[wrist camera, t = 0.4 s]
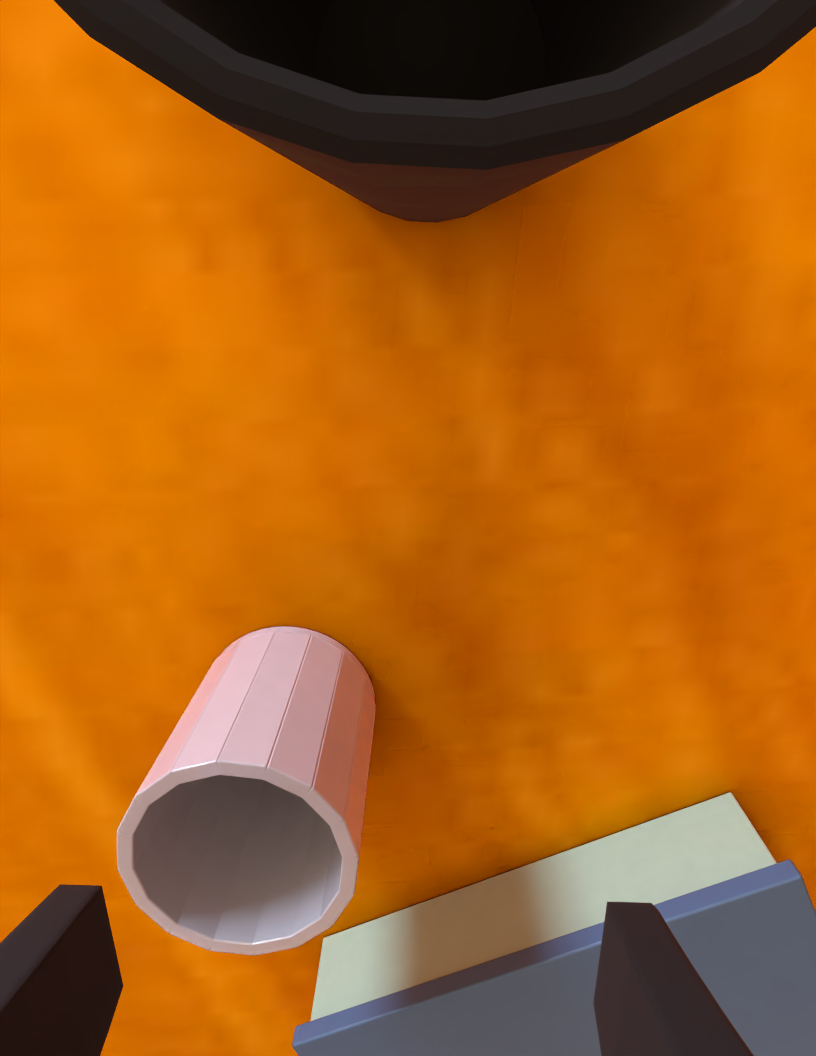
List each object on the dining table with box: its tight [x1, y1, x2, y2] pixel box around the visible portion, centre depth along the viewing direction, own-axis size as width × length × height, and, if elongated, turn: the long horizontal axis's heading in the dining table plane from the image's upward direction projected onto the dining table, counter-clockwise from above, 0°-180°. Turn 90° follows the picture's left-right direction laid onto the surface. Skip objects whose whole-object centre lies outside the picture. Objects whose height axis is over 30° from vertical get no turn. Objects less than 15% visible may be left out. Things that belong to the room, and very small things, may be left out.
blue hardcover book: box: [292, 792, 816, 1056], centre depth 21 cm, size 15×12×4 cm
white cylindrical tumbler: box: [117, 626, 376, 956], centre depth 17 cm, size 5×5×6 cm
